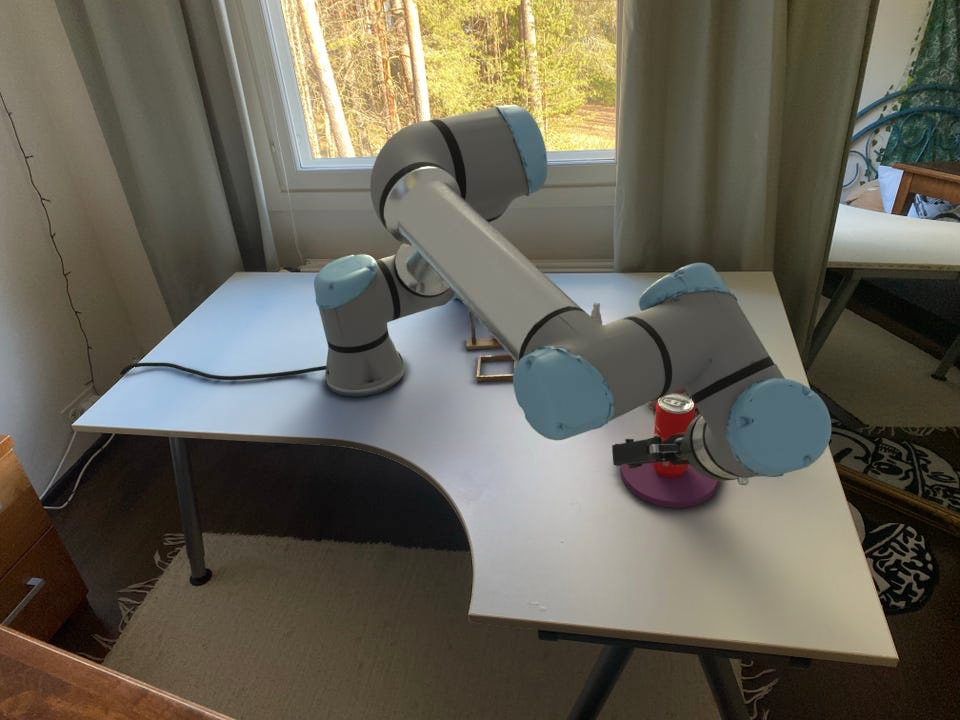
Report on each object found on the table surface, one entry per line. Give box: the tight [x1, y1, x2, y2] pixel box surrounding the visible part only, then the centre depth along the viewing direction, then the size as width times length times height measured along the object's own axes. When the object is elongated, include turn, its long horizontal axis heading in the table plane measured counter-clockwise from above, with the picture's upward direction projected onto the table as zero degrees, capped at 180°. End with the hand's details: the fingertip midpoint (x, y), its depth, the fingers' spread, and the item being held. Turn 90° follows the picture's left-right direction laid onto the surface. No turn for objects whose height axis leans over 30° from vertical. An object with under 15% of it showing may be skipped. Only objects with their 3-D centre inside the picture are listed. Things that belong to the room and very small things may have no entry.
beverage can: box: [652, 393, 696, 478], centre depth 90 cm, size 5×5×12 cm
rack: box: [466, 309, 517, 382], centre depth 122 cm, size 15×13×8 cm
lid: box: [619, 463, 719, 509], centre depth 93 cm, size 14×14×1 cm
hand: (682, 456), depth 84 cm, fingers open, 13 cm apart
